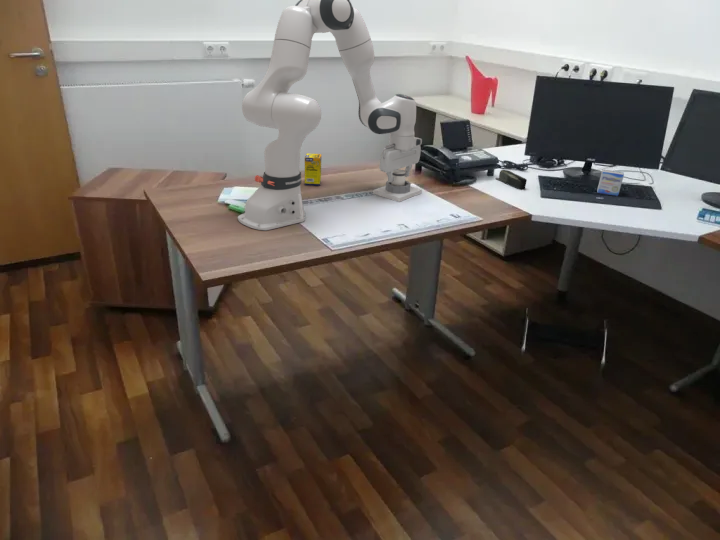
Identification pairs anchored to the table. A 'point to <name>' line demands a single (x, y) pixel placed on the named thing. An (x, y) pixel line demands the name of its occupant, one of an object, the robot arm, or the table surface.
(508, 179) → the dark green long block
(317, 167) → the supplement box
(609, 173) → the medicine box
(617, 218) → the table surface
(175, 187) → the table surface
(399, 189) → the collar mount
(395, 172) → the lens cylinder
